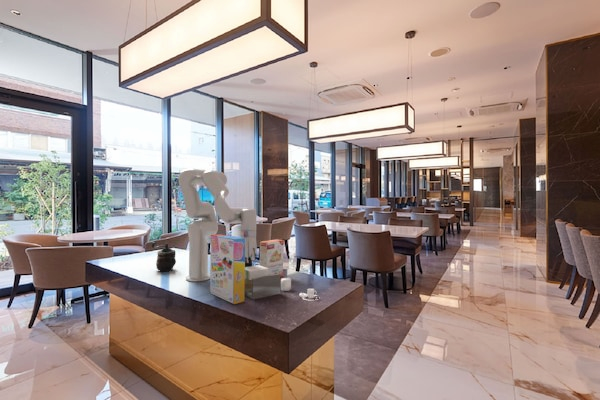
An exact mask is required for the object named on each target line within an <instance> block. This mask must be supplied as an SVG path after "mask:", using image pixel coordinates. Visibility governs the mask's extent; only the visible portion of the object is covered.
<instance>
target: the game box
mask: <svg viewBox="0 0 600 400" xmlns="http://www.w3.org/2000/svg"><path fill="white" fill-rule="evenodd" d="M209 249H210V262H209V263H210V268H209V269H210V270H209V271H210V274H209V275H210V279H209V280H210V282H209V283H210V285H209V286H210V287H209V290H210V291H209V292H210V294H211V295H213V296H215V297H217V298H220V299H222V300H223V301H226V302H229V303H231V304H233V305H237V304H241V303H243V302H245V297H246V295H245V238H241V236H234V235H227V234H223V233H222V234H220V233H218V234H217V233H216V234H215V235H211V236H210V248H209Z"/></svg>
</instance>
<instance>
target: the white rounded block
mask: <svg viewBox="0 0 600 400" xmlns="http://www.w3.org/2000/svg"><path fill="white" fill-rule="evenodd" d="M291 290H292V278H291V277H280V291H282V292H288V291H291Z"/></svg>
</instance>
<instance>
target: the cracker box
mask: <svg viewBox="0 0 600 400" xmlns="http://www.w3.org/2000/svg"><path fill="white" fill-rule="evenodd" d="M284 241H285V240H283V239H278V238H276V239H271V240H269V239H268V240H262V241H260V242H259V265H260V266H263V267H266V268H269V274H268V275H273V274H280V278H284V254H285V253H284V252H285V251H284V247H285V243H284Z"/></svg>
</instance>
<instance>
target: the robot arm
mask: <svg viewBox="0 0 600 400" xmlns="http://www.w3.org/2000/svg"><path fill="white" fill-rule="evenodd" d="M227 182H228V178H227V175H226V174H225V173H224V172H222V171H217V170H210V169H209V170H204V169H195V168H187V169H183V170H182V171H181V172H180V174H179V177H178V186H179V189H180V192H181V195H182V199H183V204H184V207H185V211H186V215H187V217H188V218H190V219H193V220H194V221H192V222H190V223H189V225H188V227H187V236H188V240H189V241H188V242H189V245H188V246H189V257H188V258H189V260H188V263H189V264H188V265H189V267H188V268H189V270H188V271H189V272H188V273H189V274H188V275H187V276H186V277H185V279H186V281H188V282H194V283H195V282H203V281H208V280H210V274H209V271H208V270H209V269H208V268H209V246H208V242H207V238H209V237H210V238H211V235H215V234H217V233H218V231H219V224H218V220H217V217H216V213H217V216H218V217H219V218H220V219H221V220H222V221H223V223H225V224H238V223H239V224H240V237H241V238H245V267H250V266H253V262H254V261H255V259H256V257H257V253H258V250H257V248H258V245H257V210H256V209H255V208H243V207H230V206H229V205H228V203H227V202H226V200H225V198H226V197H227V196H228V195H229V194H230V190H229V188H228V187H227V186H226V185H227ZM195 185H197V186H205V187H206V189H207V190H208V192H209V193H210V195H211V196H212V197H213V198H214V201H213V205H214V206H213V205H212V203H210V201H209V202H208V201H202V200H201V196H200V193H199V191H198V189H197V187H195ZM196 219H200V220H196Z"/></svg>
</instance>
